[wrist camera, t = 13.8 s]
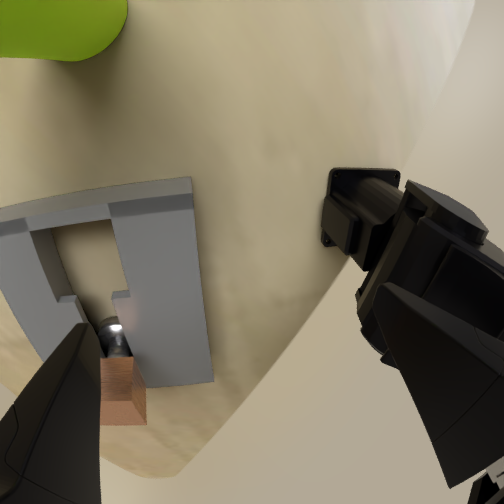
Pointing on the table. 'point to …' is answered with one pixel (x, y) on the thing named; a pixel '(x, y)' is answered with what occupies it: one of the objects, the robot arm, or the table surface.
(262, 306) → the table surface
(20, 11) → the soap dispenser
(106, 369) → the key peg
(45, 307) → the keyhole plate
